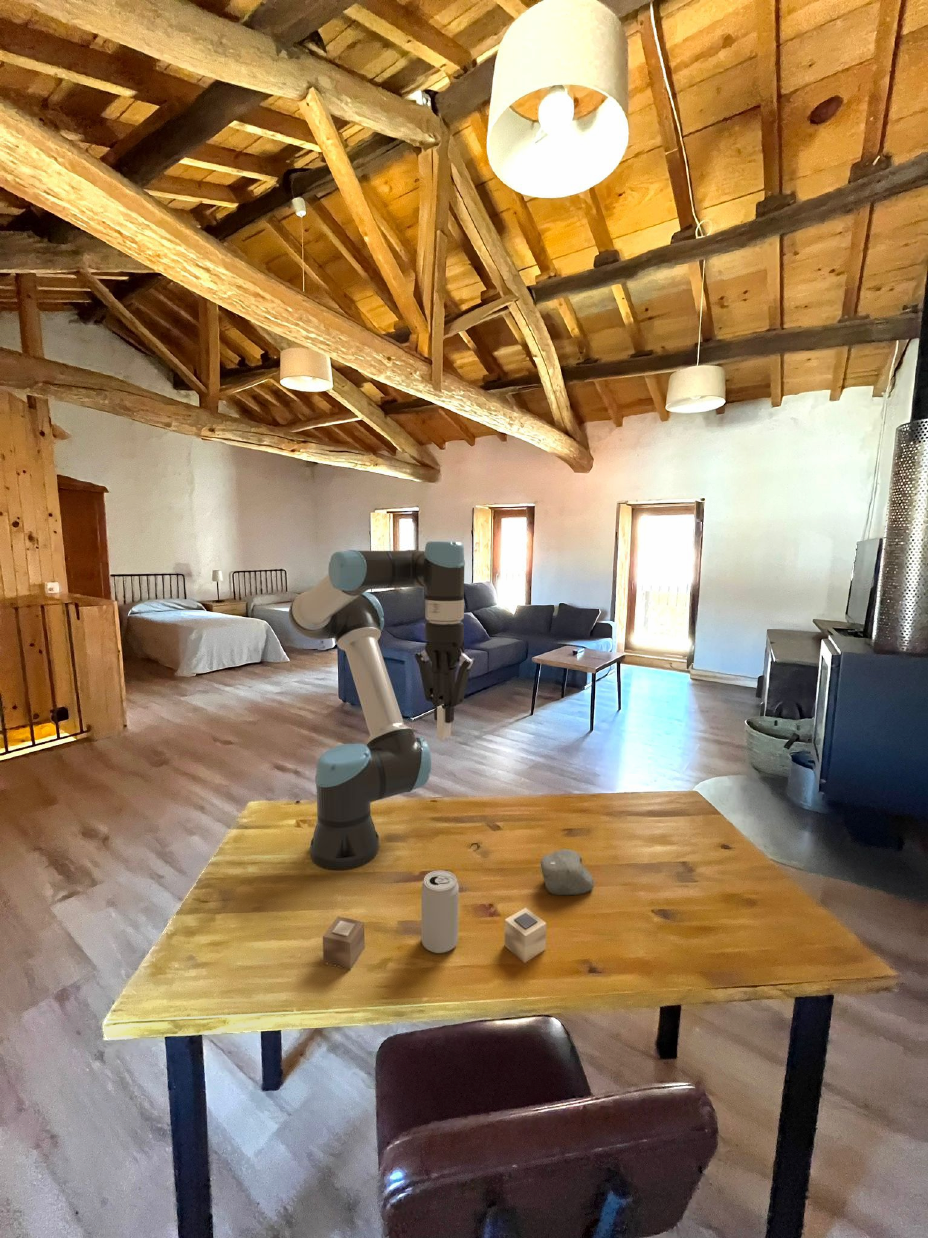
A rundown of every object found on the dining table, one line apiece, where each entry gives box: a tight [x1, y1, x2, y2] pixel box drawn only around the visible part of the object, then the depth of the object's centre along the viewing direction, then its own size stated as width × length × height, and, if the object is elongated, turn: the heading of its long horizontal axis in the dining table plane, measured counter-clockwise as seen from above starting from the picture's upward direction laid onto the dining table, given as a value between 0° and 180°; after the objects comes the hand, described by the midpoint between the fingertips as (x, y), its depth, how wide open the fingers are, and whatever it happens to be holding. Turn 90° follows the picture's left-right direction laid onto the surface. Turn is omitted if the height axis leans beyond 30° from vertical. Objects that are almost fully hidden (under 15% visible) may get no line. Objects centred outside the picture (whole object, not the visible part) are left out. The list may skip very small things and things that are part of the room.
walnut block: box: [322, 916, 366, 971], centre depth 91 cm, size 5×5×5 cm
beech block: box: [503, 907, 547, 964], centre depth 93 cm, size 5×5×5 cm
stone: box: [540, 848, 596, 896], centre depth 110 cm, size 9×9×10 cm
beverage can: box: [420, 869, 460, 954], centre depth 93 cm, size 6×6×12 cm
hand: (443, 737), depth 109 cm, fingers closed
